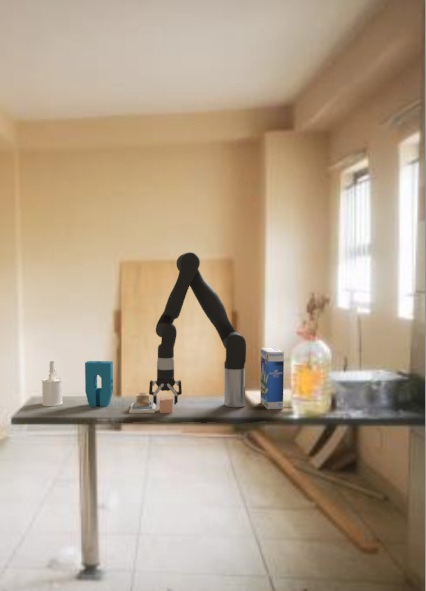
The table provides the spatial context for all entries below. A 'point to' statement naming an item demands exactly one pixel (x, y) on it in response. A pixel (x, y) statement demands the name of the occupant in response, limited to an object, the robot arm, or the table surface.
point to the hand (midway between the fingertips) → (165, 404)
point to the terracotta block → (166, 404)
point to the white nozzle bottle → (52, 388)
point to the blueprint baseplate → (142, 408)
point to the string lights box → (272, 378)
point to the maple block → (143, 399)
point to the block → (106, 373)
